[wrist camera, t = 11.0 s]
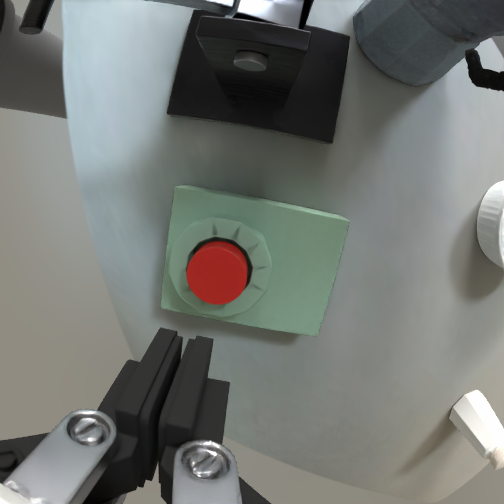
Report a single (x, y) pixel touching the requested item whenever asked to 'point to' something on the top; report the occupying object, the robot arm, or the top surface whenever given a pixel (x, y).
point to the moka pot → (429, 37)
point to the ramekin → (492, 224)
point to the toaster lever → (227, 3)
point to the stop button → (217, 273)
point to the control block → (256, 258)
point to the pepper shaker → (480, 426)
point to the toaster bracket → (261, 75)
